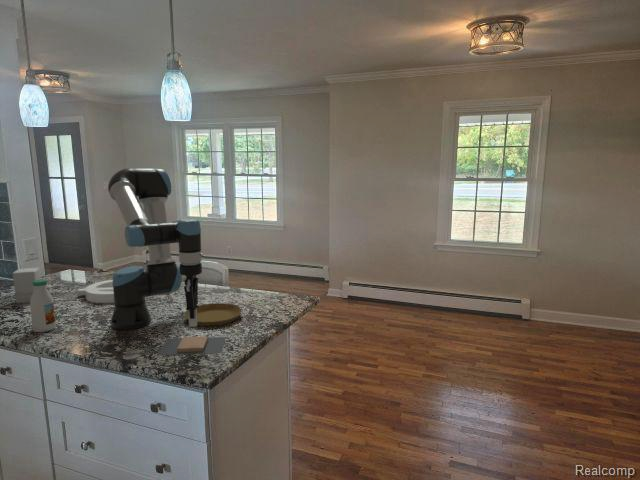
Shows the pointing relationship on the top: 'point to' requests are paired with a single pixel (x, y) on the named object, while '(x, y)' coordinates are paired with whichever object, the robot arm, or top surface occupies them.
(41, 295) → the milk bottle
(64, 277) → the top surface
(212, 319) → the plant saucer
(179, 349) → the tile
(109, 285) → the ring with crossbar
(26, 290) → the supplement box
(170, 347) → the mat
